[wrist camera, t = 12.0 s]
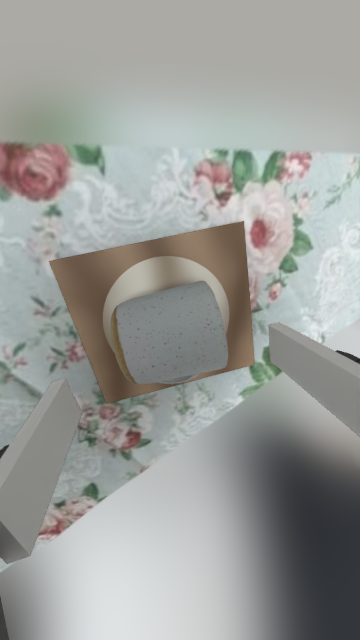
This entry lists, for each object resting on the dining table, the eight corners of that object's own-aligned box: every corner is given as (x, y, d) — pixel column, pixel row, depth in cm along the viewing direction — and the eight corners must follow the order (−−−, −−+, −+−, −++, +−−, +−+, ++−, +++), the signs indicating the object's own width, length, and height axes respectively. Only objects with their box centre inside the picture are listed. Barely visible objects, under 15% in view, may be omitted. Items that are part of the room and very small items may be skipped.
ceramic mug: (113, 295, 19) (95, 325, 12) (196, 273, 20) (225, 290, 13) (145, 384, 23) (145, 445, 16) (214, 363, 24) (243, 414, 17)
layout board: (108, 397, 24) (106, 405, 23) (53, 260, 19) (47, 261, 18) (250, 360, 26) (256, 365, 25) (239, 222, 20) (245, 220, 19)
